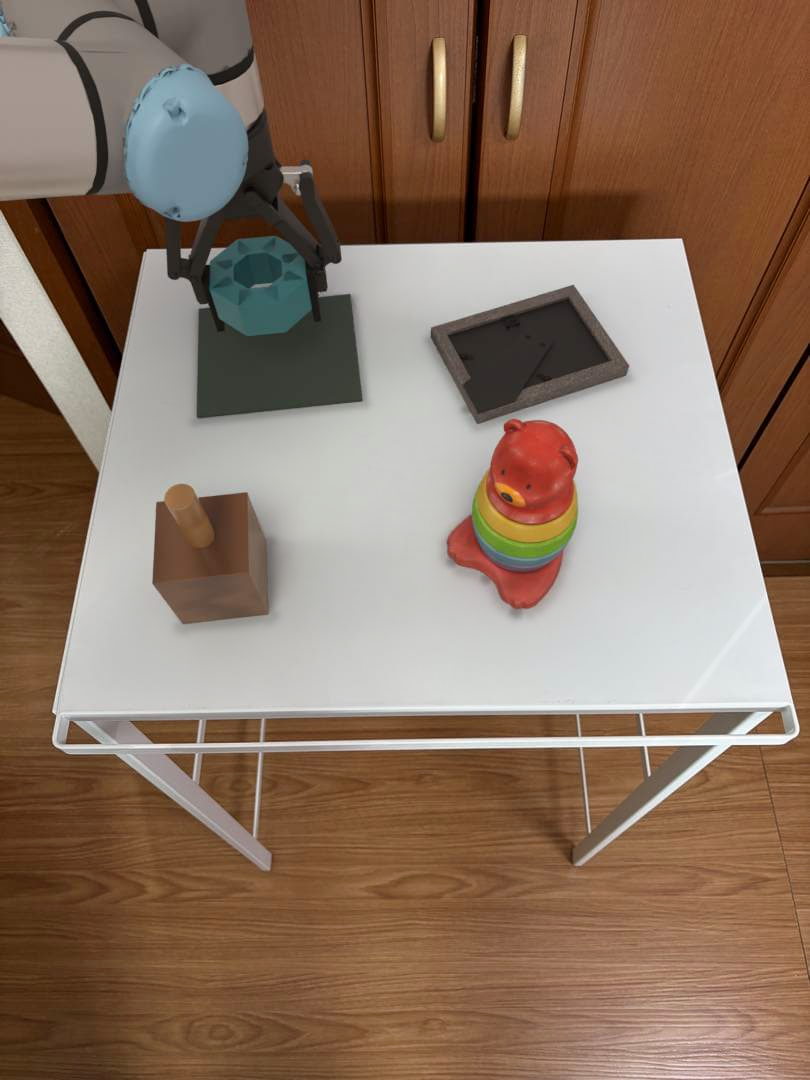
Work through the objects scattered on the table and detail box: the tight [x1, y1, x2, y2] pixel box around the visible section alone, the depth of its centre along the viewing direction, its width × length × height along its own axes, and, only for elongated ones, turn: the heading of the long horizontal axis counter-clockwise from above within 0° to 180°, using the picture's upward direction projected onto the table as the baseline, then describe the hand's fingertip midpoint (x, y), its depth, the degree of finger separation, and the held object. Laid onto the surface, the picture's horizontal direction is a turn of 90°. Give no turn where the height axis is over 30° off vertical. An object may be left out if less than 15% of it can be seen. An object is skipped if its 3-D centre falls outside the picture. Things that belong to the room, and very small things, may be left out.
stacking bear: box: [446, 418, 579, 610], centre depth 65 cm, size 11×10×18 cm
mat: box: [196, 293, 363, 419], centre depth 85 cm, size 18×16×1 cm
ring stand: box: [151, 483, 269, 625], centre depth 65 cm, size 8×8×16 cm
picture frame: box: [430, 284, 630, 425], centre depth 83 cm, size 13×2×18 cm
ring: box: [209, 235, 312, 336], centre depth 76 cm, size 10×10×4 cm
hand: (269, 317), depth 80 cm, fingers closed on ring, 10 cm apart
